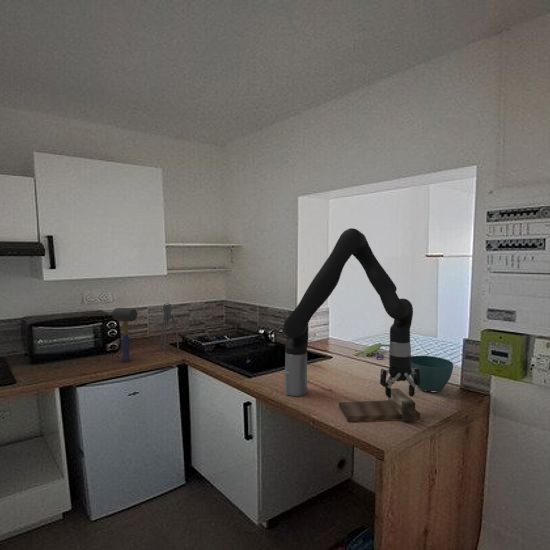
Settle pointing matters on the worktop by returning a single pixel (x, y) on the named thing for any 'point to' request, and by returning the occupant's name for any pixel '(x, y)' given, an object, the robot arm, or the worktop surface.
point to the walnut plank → (370, 411)
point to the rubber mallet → (125, 327)
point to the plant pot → (432, 372)
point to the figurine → (373, 350)
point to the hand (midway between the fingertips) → (400, 396)
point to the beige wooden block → (402, 404)
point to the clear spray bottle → (166, 317)
